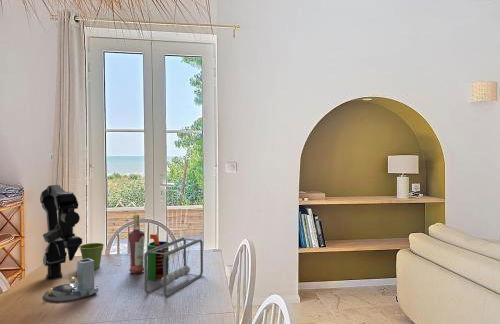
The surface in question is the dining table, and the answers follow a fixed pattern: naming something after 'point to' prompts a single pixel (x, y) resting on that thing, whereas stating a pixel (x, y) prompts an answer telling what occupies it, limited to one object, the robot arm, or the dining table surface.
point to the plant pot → (92, 252)
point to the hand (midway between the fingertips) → (66, 258)
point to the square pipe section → (85, 278)
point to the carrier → (63, 292)
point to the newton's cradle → (177, 273)
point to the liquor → (136, 247)
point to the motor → (156, 259)
